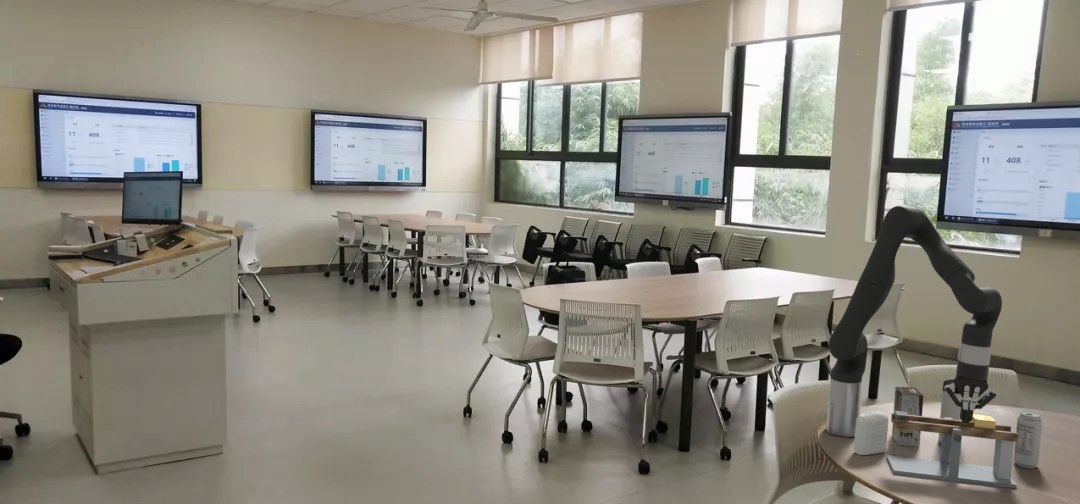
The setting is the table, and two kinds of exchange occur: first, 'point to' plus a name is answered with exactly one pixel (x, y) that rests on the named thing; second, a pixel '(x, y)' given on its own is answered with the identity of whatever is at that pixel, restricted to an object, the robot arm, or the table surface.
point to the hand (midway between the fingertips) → (965, 422)
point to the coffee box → (913, 405)
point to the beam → (950, 427)
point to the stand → (959, 464)
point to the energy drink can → (1028, 439)
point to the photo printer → (871, 433)
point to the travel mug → (949, 406)
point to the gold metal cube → (983, 422)
